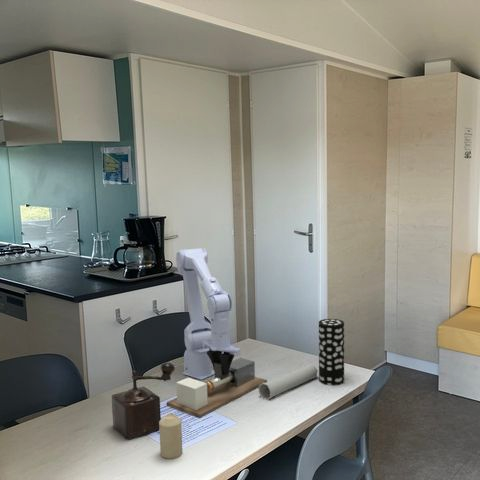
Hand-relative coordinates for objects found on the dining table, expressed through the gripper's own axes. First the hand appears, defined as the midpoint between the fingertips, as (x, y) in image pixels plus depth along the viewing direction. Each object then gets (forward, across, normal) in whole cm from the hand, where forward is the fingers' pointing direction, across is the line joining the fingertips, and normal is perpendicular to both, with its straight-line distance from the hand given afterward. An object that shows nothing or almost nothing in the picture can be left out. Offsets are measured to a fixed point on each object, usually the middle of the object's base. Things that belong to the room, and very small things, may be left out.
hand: (221, 372), depth 175 cm
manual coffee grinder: (+7, -2, -30) cm, 31 cm away
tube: (+7, +15, +17) cm, 23 cm away
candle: (+7, +15, -36) cm, 40 cm away
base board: (+6, 0, -2) cm, 7 cm away
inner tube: (+4, 0, +3) cm, 5 cm away
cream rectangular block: (+6, 0, -14) cm, 15 cm away
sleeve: (+6, 0, +8) cm, 11 cm away
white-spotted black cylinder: (+7, +23, +29) cm, 38 cm away
